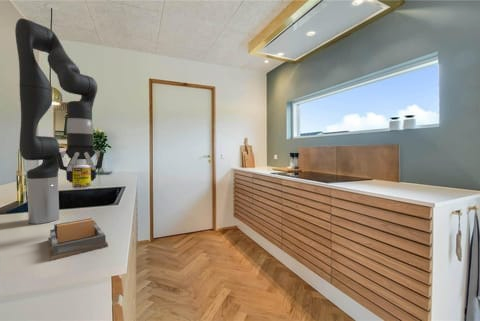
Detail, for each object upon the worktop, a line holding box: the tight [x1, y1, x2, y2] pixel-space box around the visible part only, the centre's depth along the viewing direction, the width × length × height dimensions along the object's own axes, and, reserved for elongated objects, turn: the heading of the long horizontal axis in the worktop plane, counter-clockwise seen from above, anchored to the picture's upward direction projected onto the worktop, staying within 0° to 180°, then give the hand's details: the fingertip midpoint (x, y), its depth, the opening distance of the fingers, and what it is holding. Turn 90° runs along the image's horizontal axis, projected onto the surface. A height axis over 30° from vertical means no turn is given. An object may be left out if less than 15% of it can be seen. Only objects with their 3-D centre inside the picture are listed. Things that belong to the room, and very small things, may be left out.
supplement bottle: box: [71, 159, 92, 190], centre depth 79 cm, size 6×6×10 cm
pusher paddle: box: [57, 218, 95, 243], centre depth 70 cm, size 1×9×5 cm, turn 131°
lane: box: [48, 217, 109, 261], centre depth 69 cm, size 17×13×5 cm
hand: (81, 181), depth 80 cm, fingers closed on supplement bottle, 5 cm apart
